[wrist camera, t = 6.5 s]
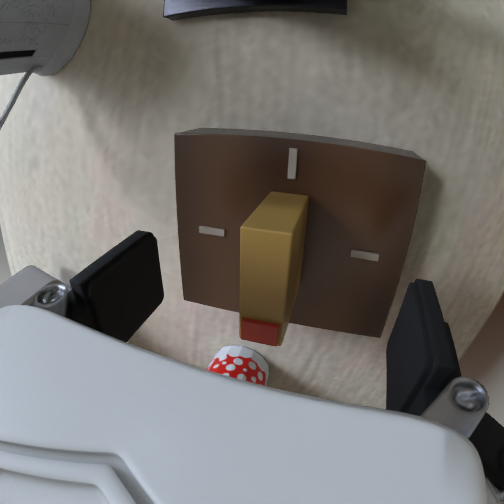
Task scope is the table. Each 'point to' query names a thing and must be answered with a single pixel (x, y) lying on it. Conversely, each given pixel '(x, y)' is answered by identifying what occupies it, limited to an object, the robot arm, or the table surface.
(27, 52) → the glass holder
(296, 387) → the table surface
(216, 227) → the lock plate
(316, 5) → the handle bracket
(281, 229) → the thumb turn
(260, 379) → the beverage cup
